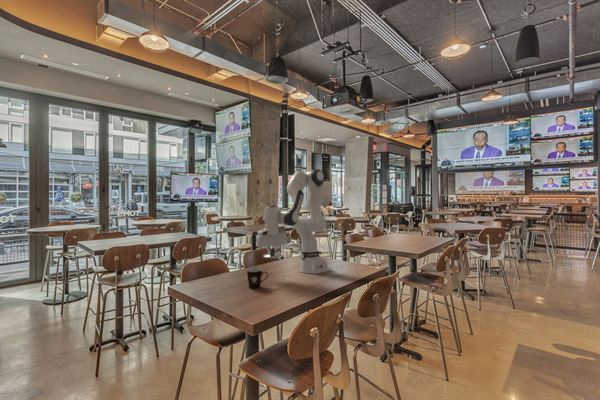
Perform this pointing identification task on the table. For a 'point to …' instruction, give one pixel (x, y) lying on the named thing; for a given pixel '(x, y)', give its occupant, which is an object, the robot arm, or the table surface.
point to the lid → (272, 254)
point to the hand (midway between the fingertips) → (272, 252)
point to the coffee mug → (255, 277)
